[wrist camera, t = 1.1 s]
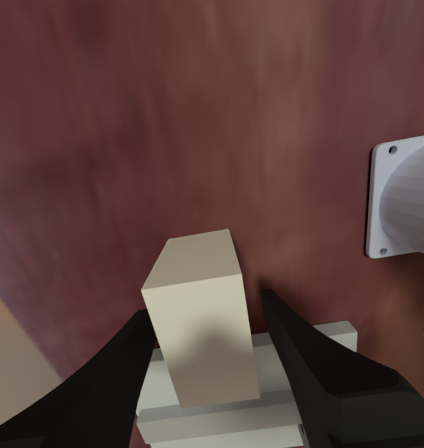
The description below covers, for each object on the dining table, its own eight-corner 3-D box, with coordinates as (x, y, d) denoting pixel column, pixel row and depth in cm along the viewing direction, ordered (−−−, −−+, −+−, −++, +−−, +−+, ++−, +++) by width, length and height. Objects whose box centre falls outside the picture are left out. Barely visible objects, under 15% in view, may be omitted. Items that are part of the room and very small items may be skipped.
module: (228, 228, 14) (241, 273, 8) (244, 324, 17) (261, 407, 11) (168, 239, 14) (140, 289, 9) (192, 332, 17) (184, 418, 11)
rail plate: (347, 320, 17) (442, 430, 10) (343, 424, 21) (408, 552, 14) (122, 353, 18) (66, 476, 11) (161, 447, 22) (139, 578, 15)
